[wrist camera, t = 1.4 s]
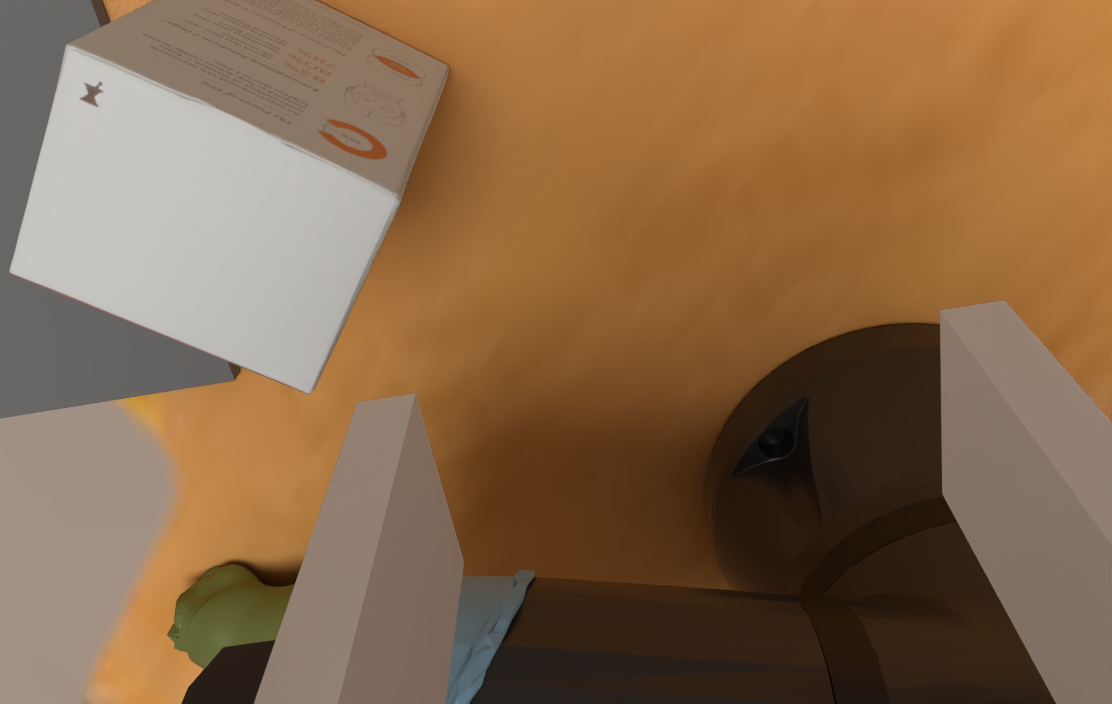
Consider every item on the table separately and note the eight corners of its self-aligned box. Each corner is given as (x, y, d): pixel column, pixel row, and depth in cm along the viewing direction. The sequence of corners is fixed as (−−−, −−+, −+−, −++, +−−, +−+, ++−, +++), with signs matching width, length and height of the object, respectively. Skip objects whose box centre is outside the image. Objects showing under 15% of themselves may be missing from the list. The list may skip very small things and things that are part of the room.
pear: (379, 750, 44) (156, 704, 45) (416, 660, 48) (213, 620, 49) (379, 652, 41) (141, 606, 42) (418, 566, 46) (203, 527, 47)
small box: (174, 125, 37) (-4, 275, 25) (229, -46, 34) (59, 34, 23) (387, 221, 38) (311, 402, 27) (456, 65, 36) (404, 193, 24)
